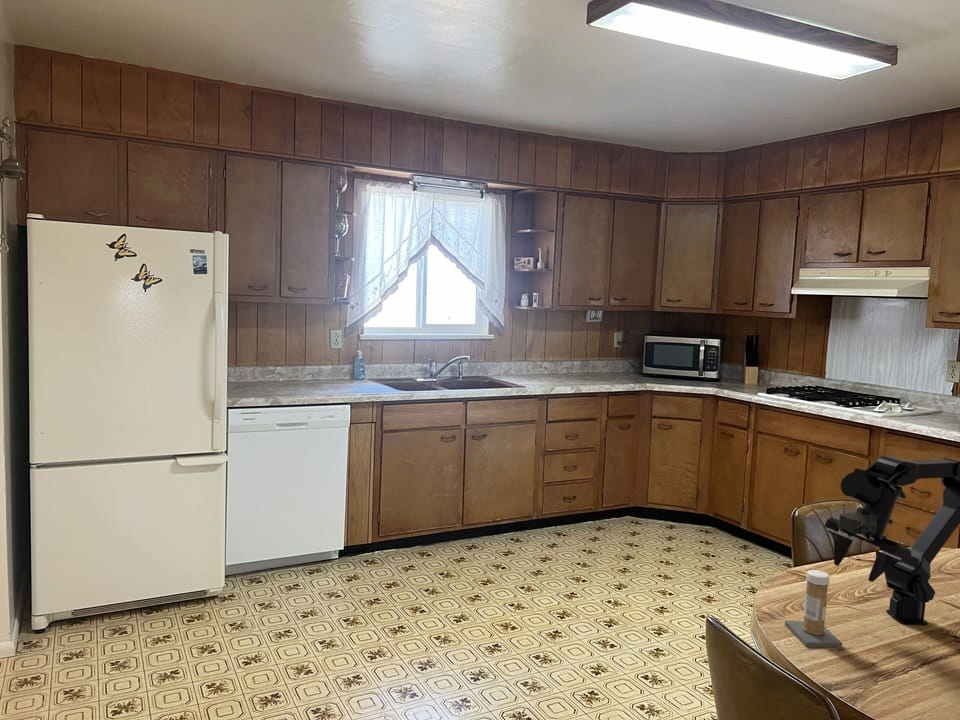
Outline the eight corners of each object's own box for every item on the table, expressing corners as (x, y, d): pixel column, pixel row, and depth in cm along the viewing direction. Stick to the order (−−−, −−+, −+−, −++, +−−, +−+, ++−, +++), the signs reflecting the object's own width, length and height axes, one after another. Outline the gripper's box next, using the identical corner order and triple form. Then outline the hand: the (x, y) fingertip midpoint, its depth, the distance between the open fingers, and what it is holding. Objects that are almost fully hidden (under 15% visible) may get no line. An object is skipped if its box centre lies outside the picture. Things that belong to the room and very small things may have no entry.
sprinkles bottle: (828, 634, 159) (834, 576, 158) (812, 636, 158) (817, 577, 156) (813, 625, 163) (819, 568, 162) (797, 627, 162) (802, 569, 161)
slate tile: (818, 625, 165) (819, 621, 165) (841, 647, 155) (842, 643, 155) (784, 624, 165) (785, 620, 165) (805, 646, 155) (806, 642, 155)
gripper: (821, 487, 170) (797, 549, 169) (892, 512, 153) (865, 581, 152) (851, 501, 174) (828, 560, 174) (924, 527, 157) (898, 593, 156)
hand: (852, 573), depth 164 cm, fingers open, 9 cm apart
